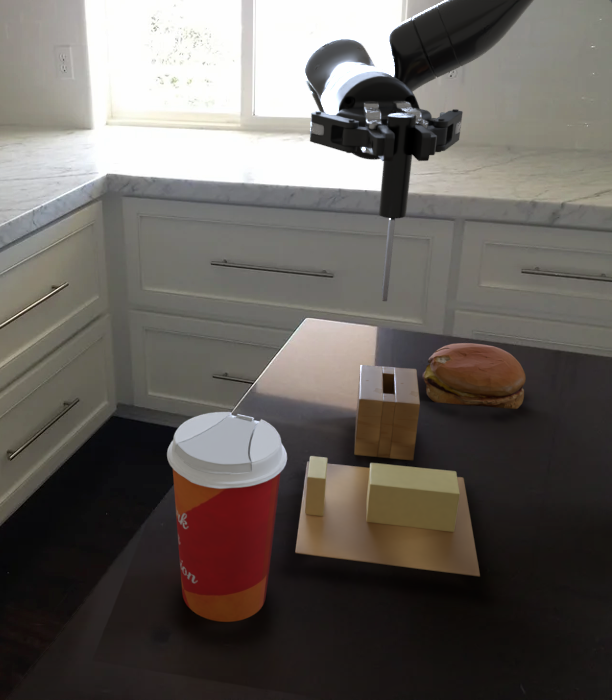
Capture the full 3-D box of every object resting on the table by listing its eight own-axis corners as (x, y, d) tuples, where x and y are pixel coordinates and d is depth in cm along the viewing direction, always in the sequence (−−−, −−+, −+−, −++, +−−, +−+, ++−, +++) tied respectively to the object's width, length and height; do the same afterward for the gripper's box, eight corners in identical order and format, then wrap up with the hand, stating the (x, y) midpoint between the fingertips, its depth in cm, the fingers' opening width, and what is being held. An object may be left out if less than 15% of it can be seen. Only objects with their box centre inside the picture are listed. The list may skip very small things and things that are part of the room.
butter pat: (325, 494, 71) (327, 457, 69) (322, 516, 68) (325, 478, 67) (307, 492, 71) (310, 455, 70) (304, 514, 68) (307, 476, 67)
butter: (450, 508, 69) (456, 471, 67) (454, 532, 66) (460, 493, 64) (366, 499, 70) (370, 462, 69) (366, 522, 67) (370, 484, 66)
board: (461, 492, 73) (463, 477, 73) (477, 592, 62) (480, 576, 61) (306, 475, 76) (307, 461, 76) (294, 568, 65) (295, 552, 64)
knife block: (408, 435, 82) (416, 368, 79) (411, 474, 76) (420, 404, 73) (354, 430, 83) (360, 364, 80) (353, 468, 77) (359, 398, 74)
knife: (397, 290, 77) (415, 112, 70) (397, 302, 74) (417, 118, 68) (371, 288, 77) (387, 111, 71) (371, 300, 75) (388, 118, 68)
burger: (542, 406, 87) (550, 364, 85) (467, 425, 84) (473, 382, 82) (474, 368, 95) (480, 329, 93) (403, 384, 92) (407, 344, 90)
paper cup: (197, 562, 66) (198, 398, 60) (294, 592, 62) (304, 422, 57) (148, 627, 59) (144, 451, 54) (253, 665, 56) (260, 482, 50)
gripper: (298, 71, 82) (320, 99, 66) (447, 69, 81) (506, 97, 65) (294, 151, 85) (315, 196, 69) (438, 149, 84) (492, 194, 68)
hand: (407, 147), depth 67 cm, fingers closed on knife, 2 cm apart
